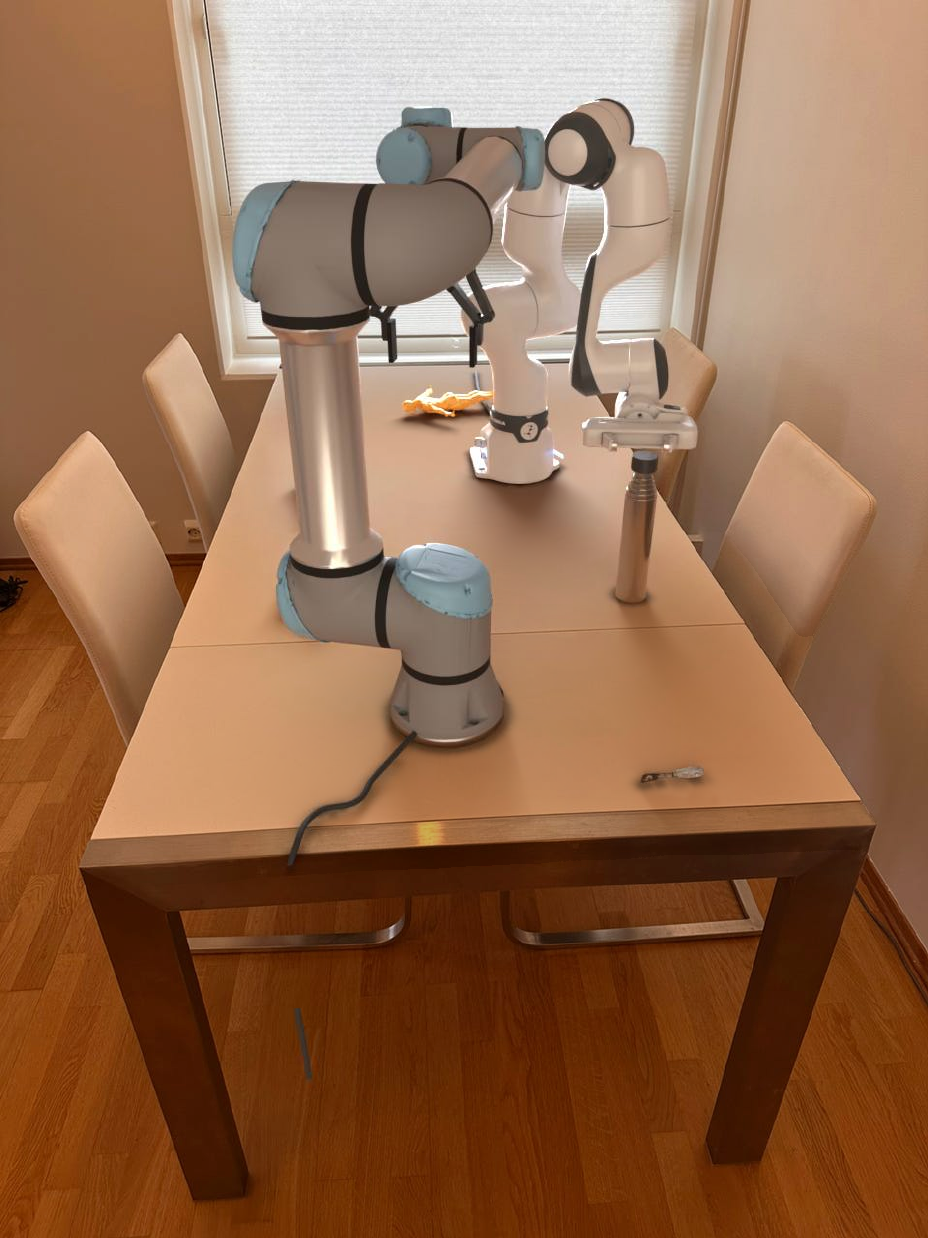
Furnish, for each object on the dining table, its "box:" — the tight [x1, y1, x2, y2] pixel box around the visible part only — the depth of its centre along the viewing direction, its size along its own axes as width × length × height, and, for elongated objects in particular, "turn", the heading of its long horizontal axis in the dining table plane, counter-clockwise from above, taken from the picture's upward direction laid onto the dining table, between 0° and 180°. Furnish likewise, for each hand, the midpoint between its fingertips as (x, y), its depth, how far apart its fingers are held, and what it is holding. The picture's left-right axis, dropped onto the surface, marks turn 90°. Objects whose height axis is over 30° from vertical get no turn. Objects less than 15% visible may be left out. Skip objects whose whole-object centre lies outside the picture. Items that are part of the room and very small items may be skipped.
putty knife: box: [640, 765, 705, 784], centre depth 109 cm, size 1×8×2 cm, turn 103°
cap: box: [630, 450, 659, 474], centre depth 135 cm, size 4×4×2 cm
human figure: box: [402, 385, 493, 418], centre depth 225 cm, size 20×20×4 cm
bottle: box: [614, 472, 658, 604], centre depth 141 cm, size 5×5×24 cm
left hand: (432, 363), depth 147 cm, fingers open, 13 cm apart
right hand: (640, 448), depth 155 cm, fingers open, 8 cm apart
